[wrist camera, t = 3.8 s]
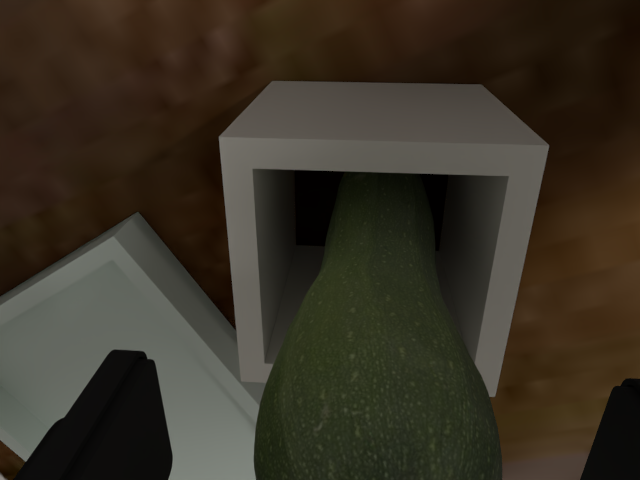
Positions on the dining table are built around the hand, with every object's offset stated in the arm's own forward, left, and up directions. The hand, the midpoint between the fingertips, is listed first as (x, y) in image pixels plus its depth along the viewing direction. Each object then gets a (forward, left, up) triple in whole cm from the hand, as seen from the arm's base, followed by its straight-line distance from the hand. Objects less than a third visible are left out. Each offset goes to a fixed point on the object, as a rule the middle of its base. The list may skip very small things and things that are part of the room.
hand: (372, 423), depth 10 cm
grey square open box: (0, 0, -13) cm, 13 cm away
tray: (+14, -11, -13) cm, 22 cm away
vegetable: (0, 0, -13) cm, 13 cm away
